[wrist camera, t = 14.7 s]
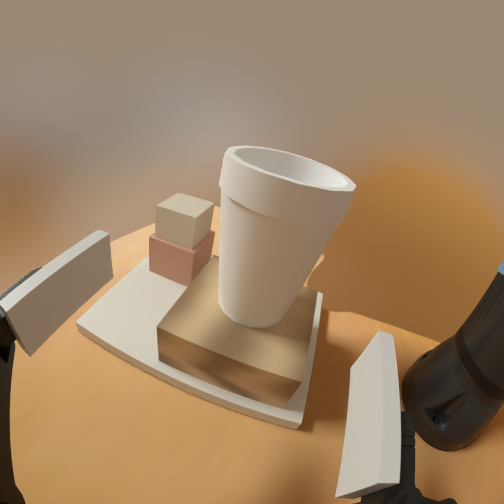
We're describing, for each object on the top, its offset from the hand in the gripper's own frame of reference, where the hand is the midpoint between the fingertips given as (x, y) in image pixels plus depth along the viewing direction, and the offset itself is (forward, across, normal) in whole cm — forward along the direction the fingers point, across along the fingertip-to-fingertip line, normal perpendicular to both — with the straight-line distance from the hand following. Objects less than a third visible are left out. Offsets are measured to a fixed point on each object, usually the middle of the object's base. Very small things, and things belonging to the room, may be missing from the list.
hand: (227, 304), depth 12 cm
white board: (+13, -4, -15) cm, 20 cm away
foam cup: (+10, 0, -9) cm, 14 cm away
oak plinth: (+10, 0, -14) cm, 17 cm away
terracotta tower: (+18, -11, -14) cm, 25 cm away
